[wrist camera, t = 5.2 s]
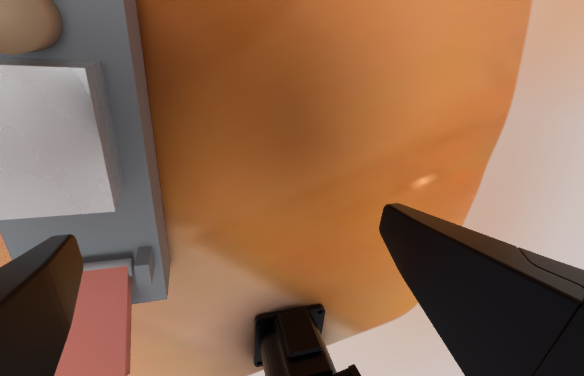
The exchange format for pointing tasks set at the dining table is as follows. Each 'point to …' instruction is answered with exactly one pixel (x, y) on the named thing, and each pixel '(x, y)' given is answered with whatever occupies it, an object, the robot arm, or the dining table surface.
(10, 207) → the light grey flat block
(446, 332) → the robot arm
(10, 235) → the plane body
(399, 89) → the dining table surface
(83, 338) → the lever
